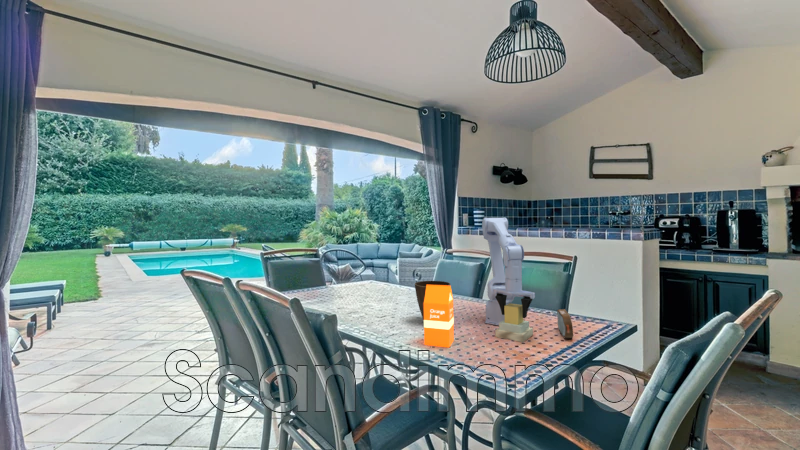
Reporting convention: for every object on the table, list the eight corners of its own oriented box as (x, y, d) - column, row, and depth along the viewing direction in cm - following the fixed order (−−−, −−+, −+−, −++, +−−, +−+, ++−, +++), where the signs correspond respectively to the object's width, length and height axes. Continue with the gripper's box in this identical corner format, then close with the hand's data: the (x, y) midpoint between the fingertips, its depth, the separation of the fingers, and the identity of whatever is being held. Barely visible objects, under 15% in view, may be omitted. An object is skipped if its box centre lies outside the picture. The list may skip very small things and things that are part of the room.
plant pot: (432, 314, 159) (431, 279, 159) (458, 321, 148) (457, 283, 147) (407, 321, 149) (407, 283, 149) (433, 329, 138) (433, 288, 138)
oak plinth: (495, 336, 128) (495, 329, 128) (506, 329, 135) (506, 323, 135) (523, 342, 121) (522, 335, 121) (532, 334, 129) (532, 327, 129)
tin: (574, 341, 121) (573, 317, 121) (564, 341, 122) (563, 316, 122) (564, 328, 136) (564, 306, 136) (556, 328, 136) (555, 306, 136)
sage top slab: (499, 329, 128) (499, 322, 128) (507, 324, 134) (507, 317, 134) (521, 333, 123) (521, 326, 123) (529, 328, 129) (529, 321, 129)
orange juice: (449, 347, 117) (448, 287, 117) (423, 345, 120) (422, 286, 120) (454, 340, 125) (453, 283, 125) (430, 337, 128) (429, 282, 128)
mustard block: (504, 322, 128) (504, 305, 128) (510, 319, 132) (509, 303, 132) (518, 324, 125) (518, 307, 125) (523, 321, 129) (523, 305, 128)
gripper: (489, 278, 130) (490, 315, 130) (529, 282, 120) (530, 321, 121) (498, 275, 135) (498, 311, 135) (536, 279, 126) (537, 317, 126)
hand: (514, 315), depth 128 cm, fingers open, 7 cm apart
